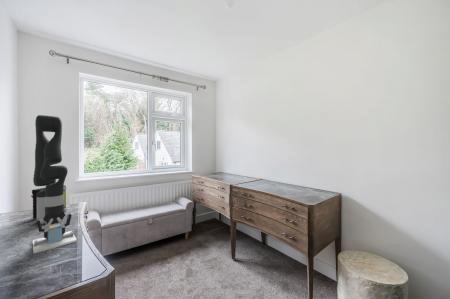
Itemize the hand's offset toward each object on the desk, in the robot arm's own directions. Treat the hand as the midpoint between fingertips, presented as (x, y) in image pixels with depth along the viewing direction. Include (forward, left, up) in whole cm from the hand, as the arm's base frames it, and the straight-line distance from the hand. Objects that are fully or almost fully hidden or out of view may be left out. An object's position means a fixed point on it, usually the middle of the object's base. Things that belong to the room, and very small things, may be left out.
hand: (54, 236), depth 100 cm
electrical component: (-58, +2, -3) cm, 58 cm away
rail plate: (0, 0, -3) cm, 3 cm away
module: (0, 0, -2) cm, 2 cm away
